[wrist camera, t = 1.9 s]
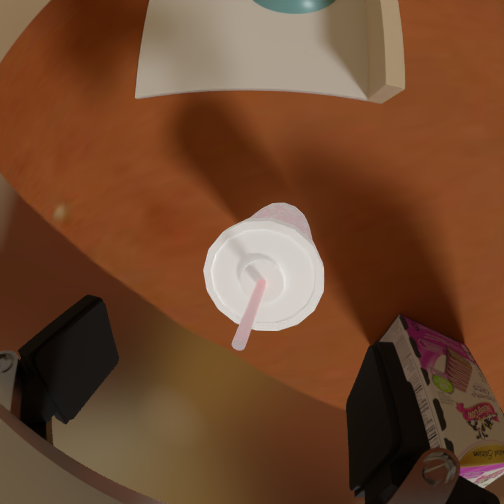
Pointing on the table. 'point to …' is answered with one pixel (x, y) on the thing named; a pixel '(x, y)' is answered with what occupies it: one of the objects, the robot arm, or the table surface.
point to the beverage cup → (265, 271)
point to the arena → (273, 47)
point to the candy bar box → (452, 398)
